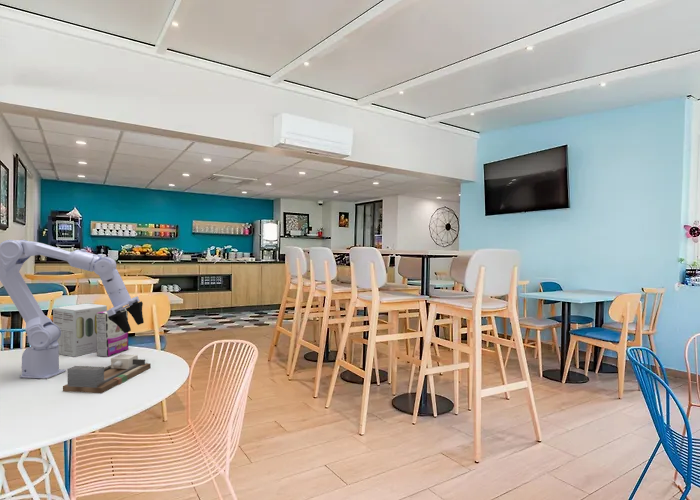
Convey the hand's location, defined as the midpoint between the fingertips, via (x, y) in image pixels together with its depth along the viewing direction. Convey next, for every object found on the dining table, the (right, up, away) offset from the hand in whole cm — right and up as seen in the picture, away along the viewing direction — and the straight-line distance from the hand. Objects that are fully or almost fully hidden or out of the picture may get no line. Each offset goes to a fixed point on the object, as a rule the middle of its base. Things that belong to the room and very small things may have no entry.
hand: (134, 327), depth 144 cm
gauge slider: (+1, -12, -5) cm, 13 cm away
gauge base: (-2, -14, -11) cm, 18 cm away
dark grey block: (-3, -13, -21) cm, 25 cm away
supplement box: (-32, -13, +21) cm, 40 cm away
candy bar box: (-18, -13, +19) cm, 29 cm away
